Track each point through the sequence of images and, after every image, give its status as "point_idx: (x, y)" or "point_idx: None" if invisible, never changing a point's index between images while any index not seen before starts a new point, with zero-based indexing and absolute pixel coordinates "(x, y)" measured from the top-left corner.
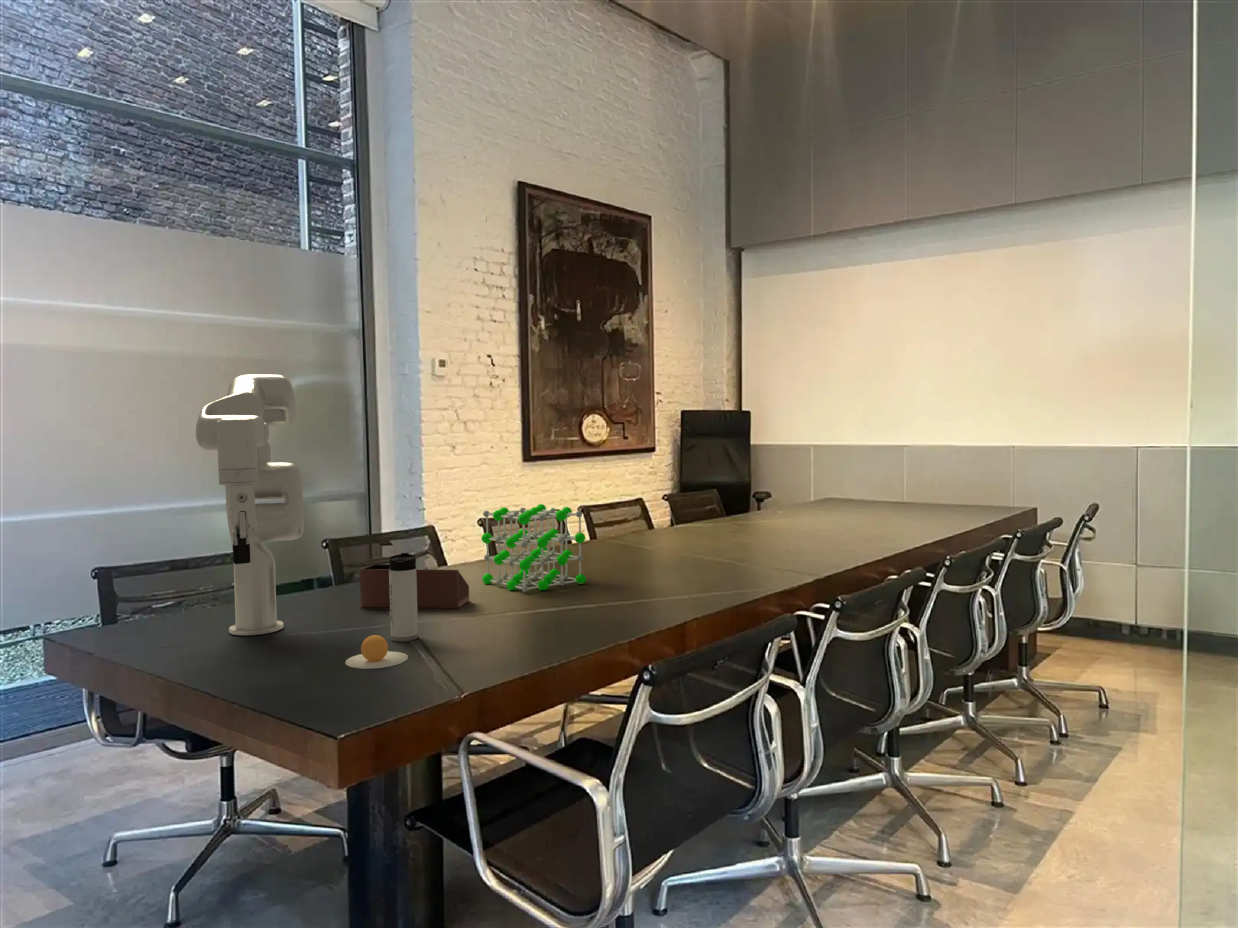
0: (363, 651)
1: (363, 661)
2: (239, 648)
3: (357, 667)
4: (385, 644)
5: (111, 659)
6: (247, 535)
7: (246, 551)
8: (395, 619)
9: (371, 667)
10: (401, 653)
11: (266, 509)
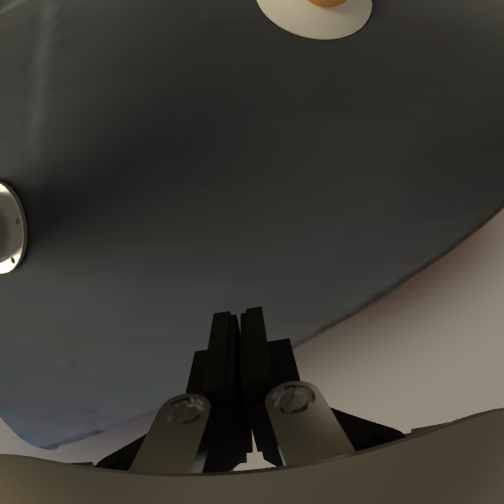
0: (340, 3)
1: (322, 11)
2: (104, 246)
3: (361, 27)
4: None
5: (132, 417)
6: (351, 448)
7: (271, 362)
8: None
9: (369, 9)
10: None
11: None
